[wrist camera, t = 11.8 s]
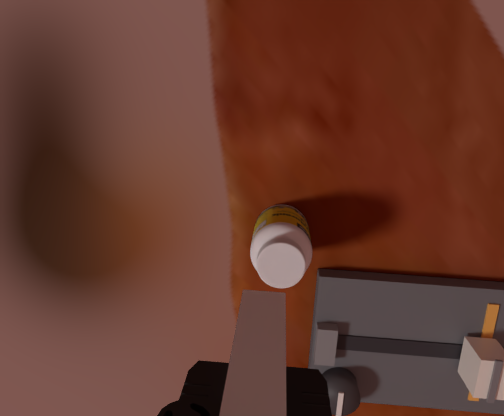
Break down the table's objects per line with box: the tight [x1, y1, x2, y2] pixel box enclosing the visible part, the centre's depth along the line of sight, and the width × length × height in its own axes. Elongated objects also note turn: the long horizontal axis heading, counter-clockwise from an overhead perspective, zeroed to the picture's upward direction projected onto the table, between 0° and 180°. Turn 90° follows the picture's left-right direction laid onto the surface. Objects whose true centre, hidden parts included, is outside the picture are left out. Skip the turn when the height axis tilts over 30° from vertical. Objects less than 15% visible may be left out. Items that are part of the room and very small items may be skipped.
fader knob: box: [458, 336, 504, 403], centre depth 44 cm, size 4×3×4 cm
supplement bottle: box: [250, 205, 312, 288], centre depth 42 cm, size 5×5×10 cm
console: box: [308, 269, 504, 416], centre depth 46 cm, size 14×24×5 cm, turn 87°
